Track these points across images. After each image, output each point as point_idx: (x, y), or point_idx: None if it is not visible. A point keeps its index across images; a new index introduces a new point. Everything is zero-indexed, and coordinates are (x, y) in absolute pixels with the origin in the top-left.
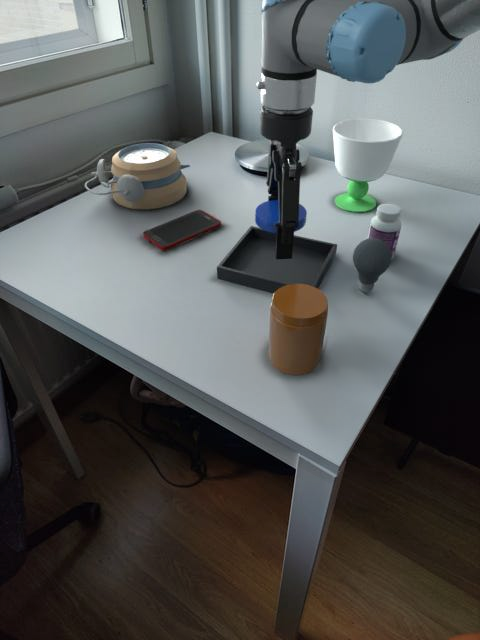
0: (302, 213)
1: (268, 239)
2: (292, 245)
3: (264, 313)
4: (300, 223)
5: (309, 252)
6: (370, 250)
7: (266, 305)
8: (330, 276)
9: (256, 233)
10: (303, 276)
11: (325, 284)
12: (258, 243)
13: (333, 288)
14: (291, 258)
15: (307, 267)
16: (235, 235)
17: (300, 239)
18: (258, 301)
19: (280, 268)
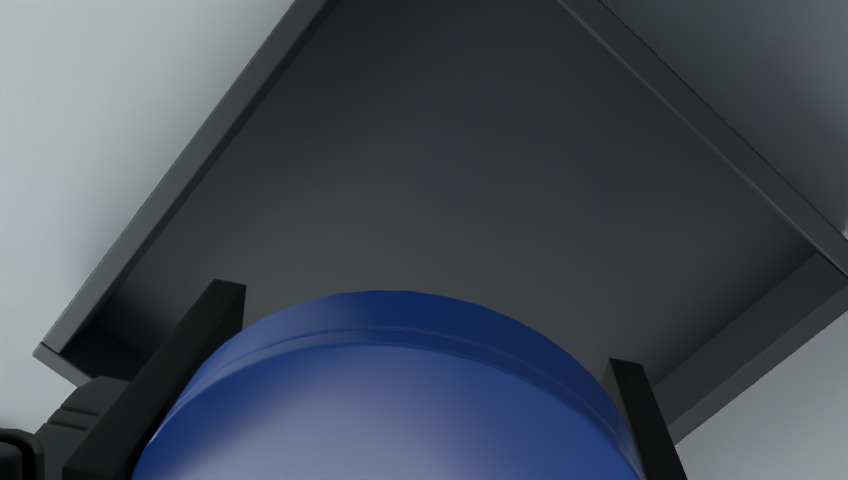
0: (509, 418)
1: (147, 249)
2: (667, 436)
3: (786, 473)
4: (639, 465)
5: (359, 43)
6: None
7: (733, 446)
8: (647, 3)
9: (91, 317)
10: (607, 195)
11: (712, 76)
12: (176, 314)
13: (775, 44)
14: (640, 367)
15: (525, 131)
16: (44, 383)
17: (258, 93)
18: (685, 467)
19: (476, 289)
